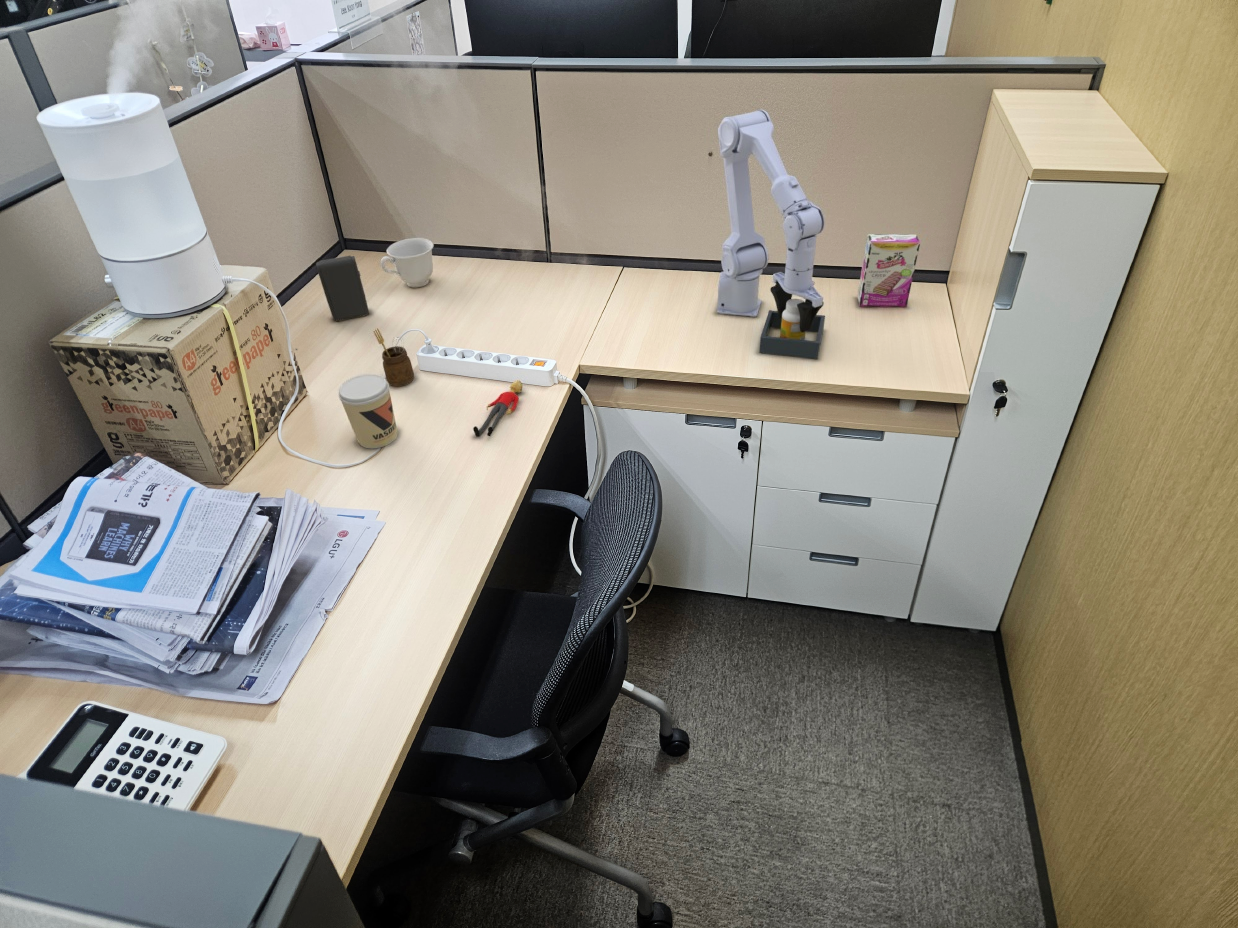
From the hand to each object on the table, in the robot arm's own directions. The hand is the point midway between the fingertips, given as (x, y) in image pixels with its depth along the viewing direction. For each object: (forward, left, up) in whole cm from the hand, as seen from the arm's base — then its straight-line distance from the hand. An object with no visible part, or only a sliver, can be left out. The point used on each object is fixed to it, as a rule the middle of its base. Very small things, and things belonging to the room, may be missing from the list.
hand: (793, 323), depth 174 cm
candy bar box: (+18, +23, -5) cm, 30 cm away
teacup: (-101, +10, -5) cm, 101 cm away
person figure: (-53, -40, -5) cm, 67 cm away
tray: (0, 0, -5) cm, 5 cm away
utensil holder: (-81, -33, -5) cm, 87 cm away
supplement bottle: (0, 0, -5) cm, 5 cm away
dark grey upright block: (-108, -9, -5) cm, 108 cm away
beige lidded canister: (-75, -53, -5) cm, 92 cm away
